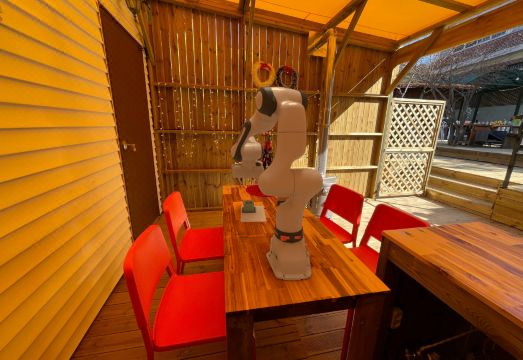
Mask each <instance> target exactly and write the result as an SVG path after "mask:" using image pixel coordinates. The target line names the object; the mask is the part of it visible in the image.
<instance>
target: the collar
mask: <svg viewBox="0 0 523 360" xmlns="http://www.w3.org/2000/svg"><path fill="white" fill-rule="evenodd" d="M247 201H248V200H243V206H244V212H254V206H255V202H254V200H250V201H251V204H247Z"/></svg>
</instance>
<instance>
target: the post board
mask: <svg viewBox="0 0 523 360" xmlns="http://www.w3.org/2000/svg"><path fill="white" fill-rule="evenodd" d="M246 201H247V204H251V201H252V200H246ZM246 222H247V223H252V222H253V223H254V222H255V223H259V222H262V223H263V222H267V217H266V212H265V207H264V205H254V212H244V205H241V208H240V223H246Z"/></svg>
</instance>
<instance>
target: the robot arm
mask: <svg viewBox="0 0 523 360" xmlns="http://www.w3.org/2000/svg"><path fill="white" fill-rule="evenodd" d="M308 105H309V99H308V94H307V93H306V92H305V91H303V90H301V89H294V88H293V89H292V88H289V87H284V86H269V85H268V86H261V87H260V88H259V89H258V90H257V92H256V94H255V112H254V114H253V115H252V116H251V117H250V118H249V119H248V120H247V121H244V123H243V126H242V127H241V129H240V132H239V133H238V135H237V138H236V139H235V142H234V143H233V144H232V146H231V148H230V156H231V158H232V159H233V160H235V162H234V163H231V165H230V166H231V167H230V169H231V170H232V171H231V176H232V178H233V179H237V181H238V182H239V185H241V186H242V185H243V180H241V179H249V178H250V179H253V178H254V179H255V178H256V180H255V181H254V185H255V186H256V185H258V189H259V190H260V192H261V193H262V194H263V195H265V196H268V197H269V196H270V197H276V198H277V197H278V196H279V197H280V196H284V197H285V196H289V198H288V200H287V201H285V202H283V203H282V204H280V205H279V206H277V208H276V211H275V225H274V228H273V230H274V235H272V237H271V238H270V246H269V247H270V248H269V251H268V252H267V253H266V254H265V256H266V259H267V261H268V263H269V265H270V267H271V269H272V272H273V274H274V277H275V278H277V279H279V280H282V279H283V280H284V281H302V280H301V279H303V280H306V279H309V278H311V277H312V275H313V273H312V272H313V271H312V266H311V259H310V257H311V254H310V253H311V252H310V251H309V250H307V249H306V248H307V247H308V243H305V241H306V240H305V236H304V227H303V222H304V221H303V219H304V212H305V209H306V207H307V205H308V203H309V202H310V200H311V199H312V198H313V197H314V196H315V195H317V194H319V192H321V190H322V188H323V186H324V179H323V176H322V174H321V173H320V171H319V170H317V169H313V168H309V167H308V168H307V167H306V168H305V167H304V168H300V167H299V168H291V167H292V164H293V163H294V162H295V161H296V160H298V159H300V158H302V157H303V156H304V155H305V153H306V151H307V131H308V130H307V127H308V126H307V115H306V111H307V109H308ZM276 124H277V128H276V129H277V130H276V131H277V134H276V135H277V137H276V138H277V139H276V140H277V141H276V151H275V154H274V155H275V156H274V158H273V160H272V162H271V163H270V164H269V166H268V167H267V168H266V169H265V168H264V166H263V164H264V163H263V162H262V161H261V158H263V156H264V153H265V152H264V149H265V148H264V146H263V144H262V143H260V142H257V140H256V138H255V136H256V135H259V134H263V133H267V132H269V131H271V130H273V128H274V127H275V125H276Z"/></svg>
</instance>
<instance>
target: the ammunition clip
mask: <svg viewBox="0 0 523 360" xmlns="http://www.w3.org/2000/svg"><path fill="white" fill-rule="evenodd" d="M289 197H290V196H278V197H276V207H278V206H279V205H280V204H282V203H283V202H285V201H287V200H288V198H289Z"/></svg>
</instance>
